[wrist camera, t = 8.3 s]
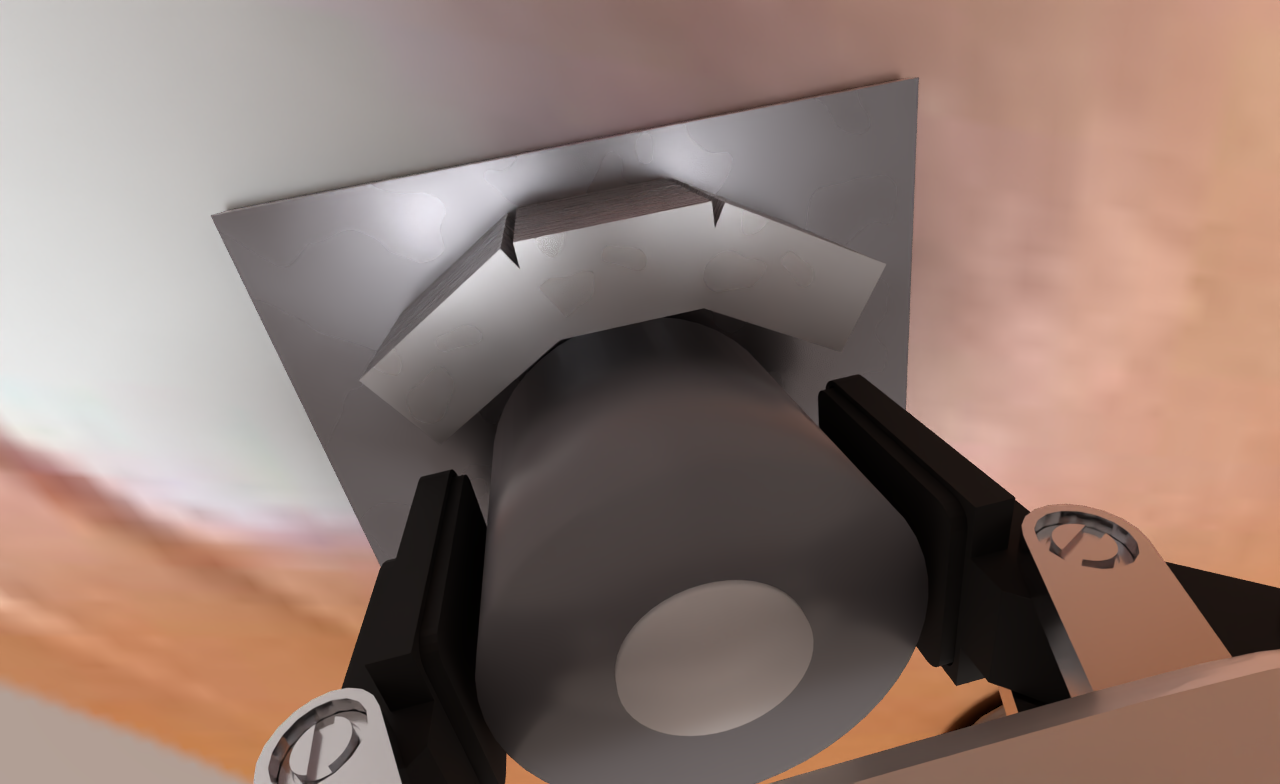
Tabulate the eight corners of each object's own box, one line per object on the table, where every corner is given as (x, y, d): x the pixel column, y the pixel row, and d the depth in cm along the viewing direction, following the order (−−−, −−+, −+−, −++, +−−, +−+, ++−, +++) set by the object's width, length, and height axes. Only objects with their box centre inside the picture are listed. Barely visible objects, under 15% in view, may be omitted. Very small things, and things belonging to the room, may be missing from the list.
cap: (452, 357, 11) (399, 547, 6) (773, 286, 11) (951, 410, 6) (535, 600, 13) (542, 859, 9) (790, 533, 14) (923, 745, 9)
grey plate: (225, 210, 10) (85, 257, 7) (902, 78, 11) (1054, 66, 8) (449, 685, 15) (429, 833, 12) (888, 570, 16) (975, 680, 13)
